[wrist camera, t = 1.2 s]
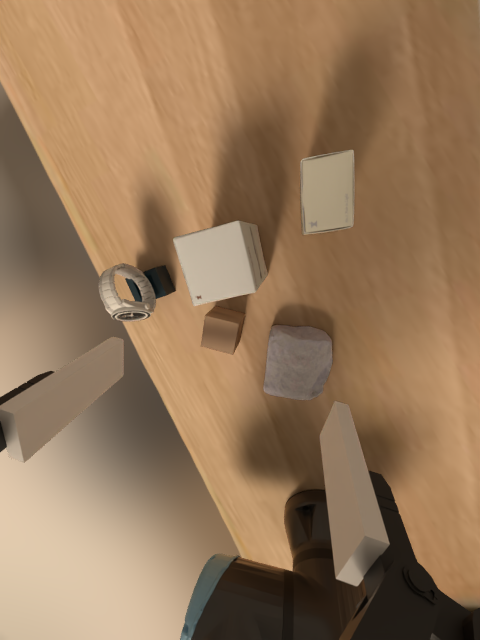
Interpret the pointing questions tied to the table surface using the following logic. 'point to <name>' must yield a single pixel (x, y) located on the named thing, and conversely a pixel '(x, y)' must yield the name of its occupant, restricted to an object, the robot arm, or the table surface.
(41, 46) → the table surface
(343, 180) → the skincare box
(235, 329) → the walnut cube
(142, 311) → the watch
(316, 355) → the stone block
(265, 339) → the table surface
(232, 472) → the table surface
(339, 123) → the table surface
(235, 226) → the supplement box
